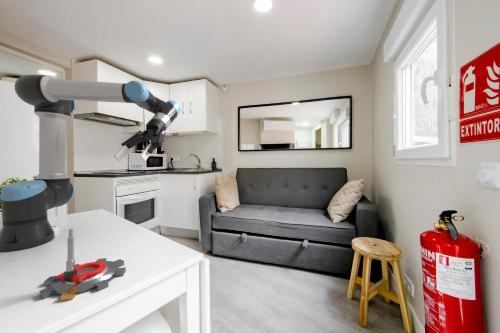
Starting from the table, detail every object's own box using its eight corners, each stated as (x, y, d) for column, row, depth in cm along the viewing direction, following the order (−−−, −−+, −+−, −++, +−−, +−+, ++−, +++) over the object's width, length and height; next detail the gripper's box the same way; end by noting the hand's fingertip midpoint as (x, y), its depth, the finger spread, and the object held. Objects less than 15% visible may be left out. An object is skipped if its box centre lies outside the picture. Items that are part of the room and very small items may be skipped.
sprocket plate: (29, 285, 52) (29, 280, 52) (107, 256, 67) (107, 253, 67) (55, 311, 43) (55, 305, 43) (138, 271, 58) (138, 267, 58)
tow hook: (88, 264, 60) (53, 281, 51) (88, 220, 60) (53, 229, 51) (113, 266, 59) (81, 284, 50) (113, 221, 59) (81, 230, 50)
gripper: (184, 129, 91) (159, 165, 78) (142, 133, 100) (113, 165, 87) (176, 115, 86) (147, 150, 73) (132, 120, 95) (100, 152, 82)
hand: (129, 158), depth 80 cm, fingers open, 13 cm apart
